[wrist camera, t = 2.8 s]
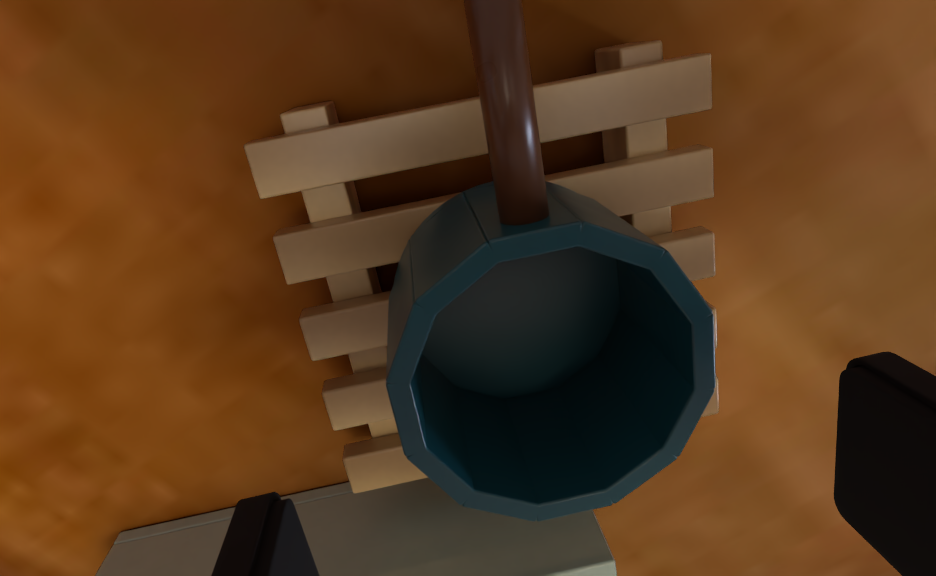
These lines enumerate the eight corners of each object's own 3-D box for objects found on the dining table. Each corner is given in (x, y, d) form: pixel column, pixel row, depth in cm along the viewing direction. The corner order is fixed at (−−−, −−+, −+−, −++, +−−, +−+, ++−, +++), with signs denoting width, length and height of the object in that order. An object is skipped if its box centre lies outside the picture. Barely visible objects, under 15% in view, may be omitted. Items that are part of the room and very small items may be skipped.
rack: (261, 114, 17) (235, 124, 14) (661, 36, 18) (711, 31, 15) (361, 450, 22) (356, 507, 19) (679, 381, 22) (720, 426, 19)
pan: (637, 375, 18) (719, 482, 14) (420, 421, 18) (428, 547, 13) (599, -82, 14) (703, -156, 9) (309, -28, 13) (262, -76, 9)
